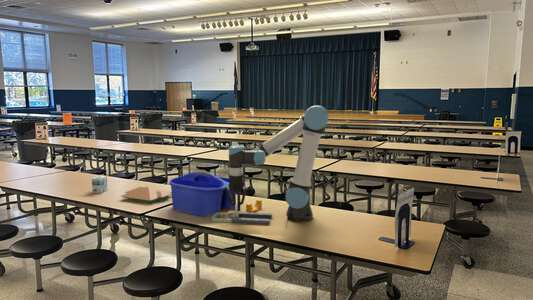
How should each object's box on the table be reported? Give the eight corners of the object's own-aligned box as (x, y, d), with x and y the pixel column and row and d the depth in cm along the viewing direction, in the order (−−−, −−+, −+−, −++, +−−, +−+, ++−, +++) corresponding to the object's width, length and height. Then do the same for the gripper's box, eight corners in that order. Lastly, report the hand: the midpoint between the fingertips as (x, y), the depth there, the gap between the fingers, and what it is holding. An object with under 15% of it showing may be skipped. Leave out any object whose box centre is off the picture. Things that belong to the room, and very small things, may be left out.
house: (153, 206, 237) (153, 193, 235) (115, 200, 250) (114, 188, 249) (176, 197, 257) (176, 185, 256) (140, 192, 271) (139, 181, 270)
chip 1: (229, 219, 208) (229, 212, 208) (227, 221, 204) (227, 214, 204) (222, 218, 209) (222, 212, 208) (220, 221, 205) (220, 214, 204)
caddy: (195, 197, 257) (194, 163, 253) (248, 207, 233) (247, 170, 230) (159, 208, 231) (157, 171, 227) (214, 221, 207) (213, 180, 203)
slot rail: (272, 219, 210) (272, 213, 209) (269, 227, 197) (269, 220, 196) (237, 217, 212) (237, 211, 212) (232, 225, 200) (232, 219, 199)
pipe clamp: (252, 216, 216) (251, 205, 215) (246, 214, 218) (246, 204, 218) (264, 211, 226) (264, 200, 225) (258, 209, 228) (258, 199, 227)
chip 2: (236, 217, 208) (236, 210, 207) (234, 220, 204) (234, 213, 203) (229, 217, 208) (229, 210, 207) (227, 219, 204) (227, 212, 204)
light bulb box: (101, 193, 266) (100, 178, 264) (92, 193, 266) (91, 178, 264) (108, 189, 276) (107, 175, 275) (99, 189, 276) (98, 175, 275)
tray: (236, 217, 212) (236, 212, 212) (231, 224, 201) (231, 219, 200) (216, 216, 214) (216, 211, 213) (210, 223, 202) (210, 218, 202)
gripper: (249, 173, 205) (249, 215, 208) (226, 172, 207) (227, 214, 210) (246, 176, 197) (247, 219, 201) (222, 175, 199) (223, 218, 202)
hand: (236, 216), depth 205 cm, fingers closed
